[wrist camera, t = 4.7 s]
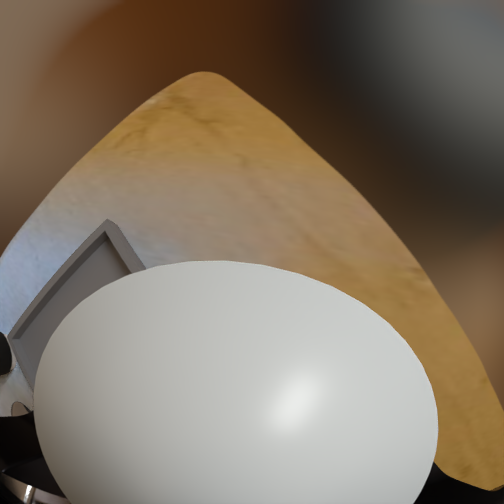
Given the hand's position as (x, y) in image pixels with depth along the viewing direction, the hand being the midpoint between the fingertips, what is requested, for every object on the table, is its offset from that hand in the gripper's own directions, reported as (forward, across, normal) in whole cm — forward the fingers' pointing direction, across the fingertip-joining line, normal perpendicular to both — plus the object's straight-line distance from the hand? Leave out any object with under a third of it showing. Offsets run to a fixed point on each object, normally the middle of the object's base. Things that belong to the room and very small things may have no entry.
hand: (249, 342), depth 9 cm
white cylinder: (+4, 0, +6) cm, 7 cm away
